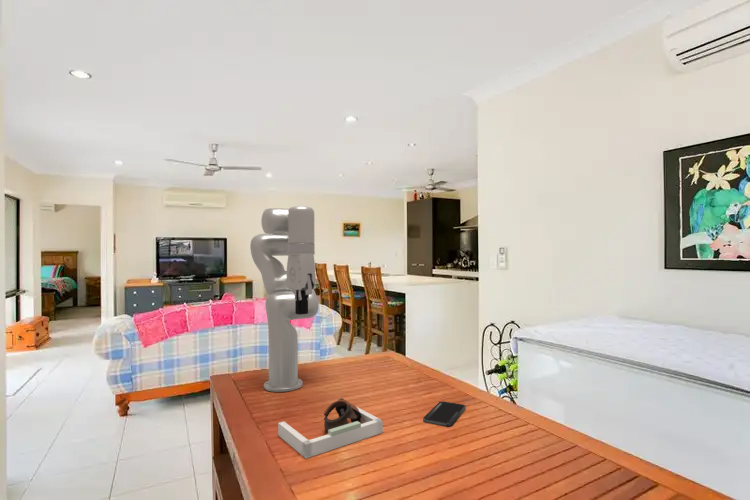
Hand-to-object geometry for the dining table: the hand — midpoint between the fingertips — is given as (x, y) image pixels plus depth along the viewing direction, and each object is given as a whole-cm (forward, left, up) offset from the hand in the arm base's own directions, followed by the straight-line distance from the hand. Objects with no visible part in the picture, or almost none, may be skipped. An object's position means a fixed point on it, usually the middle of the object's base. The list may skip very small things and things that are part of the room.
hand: (301, 313), depth 117 cm
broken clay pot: (+18, +2, -27) cm, 33 cm away
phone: (+28, +29, -28) cm, 49 cm away
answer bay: (+19, -2, -27) cm, 33 cm away
